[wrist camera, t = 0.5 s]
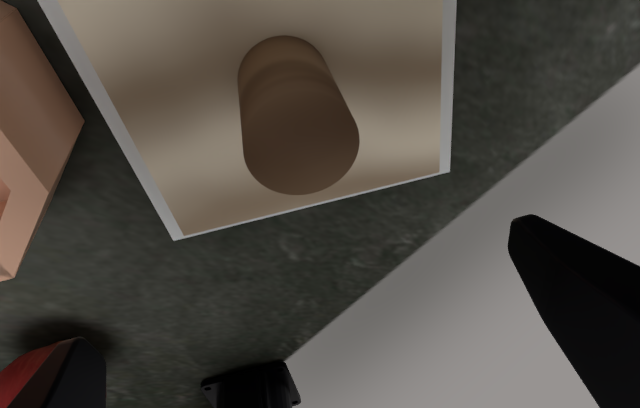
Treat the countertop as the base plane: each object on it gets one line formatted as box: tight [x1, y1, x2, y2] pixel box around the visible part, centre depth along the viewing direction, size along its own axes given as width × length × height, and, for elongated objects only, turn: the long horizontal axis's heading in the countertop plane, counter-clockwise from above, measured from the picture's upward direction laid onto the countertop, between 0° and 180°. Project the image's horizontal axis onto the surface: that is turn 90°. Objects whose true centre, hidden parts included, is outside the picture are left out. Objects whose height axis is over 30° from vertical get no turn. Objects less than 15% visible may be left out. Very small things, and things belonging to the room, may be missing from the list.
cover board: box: [57, 0, 443, 236], centre depth 15 cm, size 13×13×6 cm
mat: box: [37, 0, 457, 241], centre depth 18 cm, size 15×15×1 cm
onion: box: [0, 341, 62, 408], centre depth 24 cm, size 6×6×8 cm
